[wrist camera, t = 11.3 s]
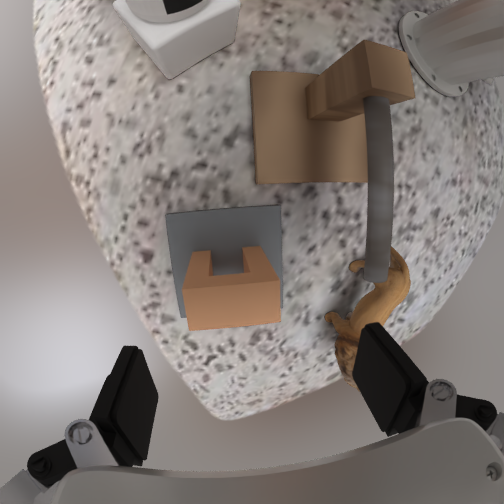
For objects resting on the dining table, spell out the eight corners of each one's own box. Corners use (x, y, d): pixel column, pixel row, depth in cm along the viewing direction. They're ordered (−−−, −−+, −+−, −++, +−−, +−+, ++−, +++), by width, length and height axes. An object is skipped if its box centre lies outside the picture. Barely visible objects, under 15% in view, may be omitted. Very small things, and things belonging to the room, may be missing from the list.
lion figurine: (348, 348, 30) (382, 396, 21) (310, 345, 29) (339, 400, 20) (394, 232, 26) (452, 257, 18) (356, 219, 25) (413, 242, 17)
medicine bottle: (195, 1, 17) (188, -78, 5) (235, 42, 19) (252, -39, 8) (132, 37, 17) (88, -30, 6) (169, 82, 20) (133, 15, 8)
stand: (368, 87, 21) (450, 54, 10) (373, 235, 26) (455, 276, 15) (249, 76, 20) (278, 5, 9) (258, 244, 25) (293, 306, 13)
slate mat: (279, 204, 24) (280, 205, 23) (281, 305, 27) (282, 308, 26) (166, 213, 23) (165, 214, 22) (181, 314, 26) (180, 317, 25)
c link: (260, 245, 24) (279, 280, 17) (261, 277, 25) (280, 321, 17) (192, 251, 24) (181, 289, 16) (196, 283, 24) (189, 330, 17)
